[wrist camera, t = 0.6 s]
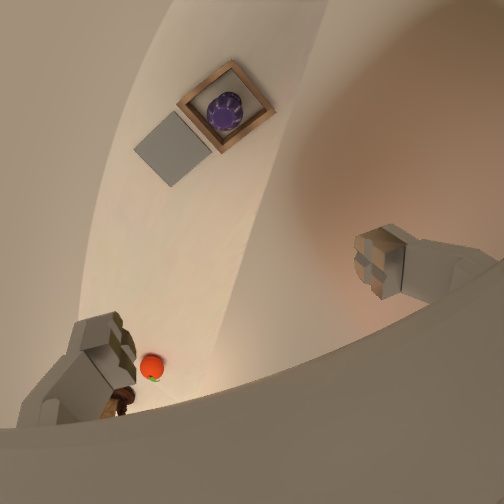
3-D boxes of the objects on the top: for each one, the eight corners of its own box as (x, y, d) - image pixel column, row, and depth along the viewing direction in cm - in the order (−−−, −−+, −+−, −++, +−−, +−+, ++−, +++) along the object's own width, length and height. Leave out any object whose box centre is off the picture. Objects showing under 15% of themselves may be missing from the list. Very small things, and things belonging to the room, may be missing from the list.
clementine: (171, 364, 84) (169, 384, 78) (152, 369, 85) (149, 388, 79) (156, 349, 79) (153, 369, 73) (137, 353, 80) (133, 373, 74)
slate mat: (174, 111, 47) (173, 111, 46) (211, 151, 52) (211, 152, 51) (134, 149, 50) (133, 149, 49) (171, 186, 55) (170, 187, 54)
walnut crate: (231, 60, 43) (231, 59, 39) (272, 108, 48) (276, 112, 44) (180, 101, 46) (175, 104, 42) (222, 146, 51) (221, 154, 47)
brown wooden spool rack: (129, 379, 88) (119, 432, 71) (139, 401, 96) (132, 449, 79) (90, 374, 87) (76, 424, 70) (103, 396, 95) (93, 442, 78)
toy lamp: (223, 122, 49) (220, 143, 35) (207, 101, 47) (196, 114, 33) (246, 106, 47) (253, 120, 34) (230, 85, 45) (229, 90, 31)
